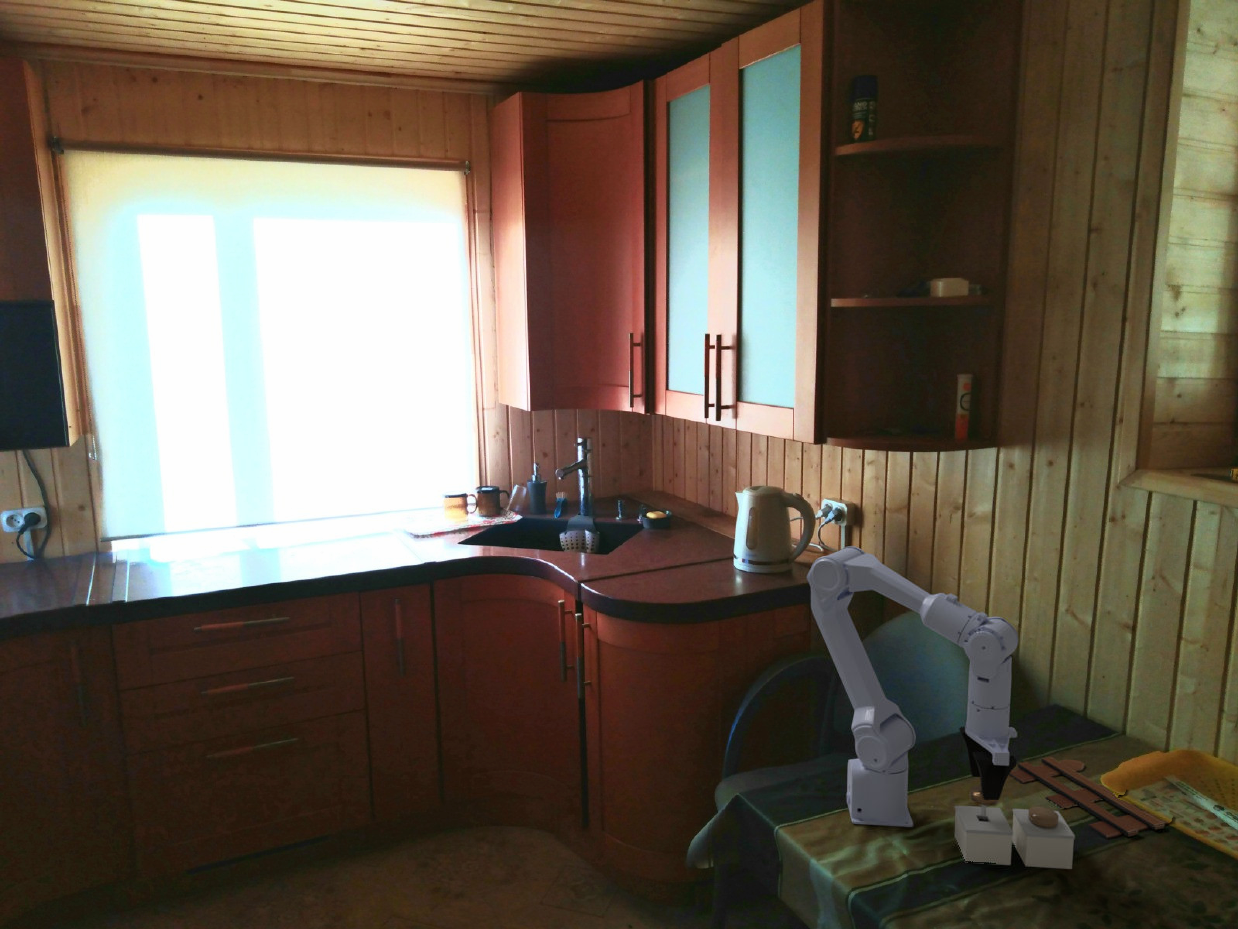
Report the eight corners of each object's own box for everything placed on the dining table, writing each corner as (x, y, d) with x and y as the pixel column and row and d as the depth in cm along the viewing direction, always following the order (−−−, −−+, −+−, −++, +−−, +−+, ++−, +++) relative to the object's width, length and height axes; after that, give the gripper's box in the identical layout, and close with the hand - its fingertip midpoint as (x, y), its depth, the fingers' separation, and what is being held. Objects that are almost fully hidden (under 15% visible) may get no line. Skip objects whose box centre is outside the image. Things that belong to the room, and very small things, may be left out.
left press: (964, 862, 126) (966, 829, 125) (951, 833, 134) (953, 801, 133) (1011, 865, 125) (1013, 832, 125) (996, 835, 133) (997, 804, 132)
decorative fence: (1111, 847, 131) (1185, 828, 135) (1112, 836, 130) (1186, 818, 135) (1002, 775, 152) (1069, 761, 157) (1002, 766, 152) (1069, 752, 156)
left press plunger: (972, 834, 127) (974, 798, 126) (965, 819, 131) (967, 784, 130) (1000, 836, 126) (1002, 800, 125) (992, 821, 130) (994, 785, 129)
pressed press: (1025, 866, 125) (1027, 825, 124) (1008, 836, 133) (1010, 797, 132) (1072, 869, 124) (1075, 827, 123) (1053, 839, 132) (1056, 799, 131)
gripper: (1034, 724, 118) (1029, 815, 120) (1002, 682, 132) (998, 764, 134) (980, 722, 119) (976, 812, 121) (954, 680, 133) (951, 762, 135)
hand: (984, 787), depth 127 cm, fingers open, 6 cm apart
